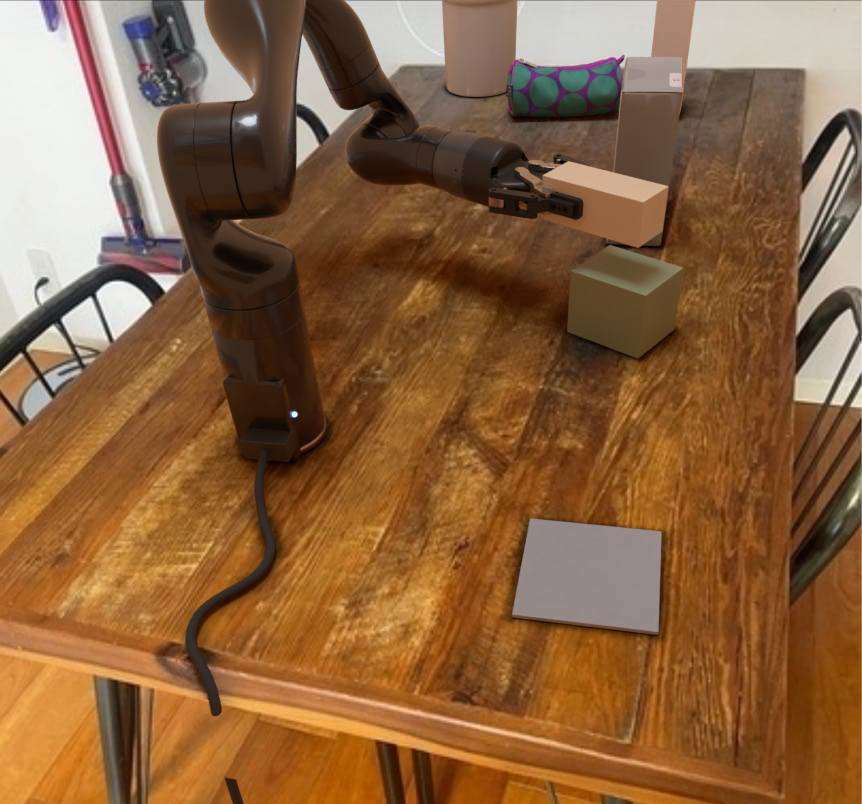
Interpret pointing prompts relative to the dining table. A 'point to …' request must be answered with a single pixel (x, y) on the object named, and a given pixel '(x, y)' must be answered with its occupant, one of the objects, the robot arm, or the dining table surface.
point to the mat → (590, 576)
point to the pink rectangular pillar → (673, 31)
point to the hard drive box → (648, 121)
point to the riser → (624, 300)
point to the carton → (610, 203)
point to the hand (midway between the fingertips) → (595, 201)
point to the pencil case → (564, 89)
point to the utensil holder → (479, 45)
